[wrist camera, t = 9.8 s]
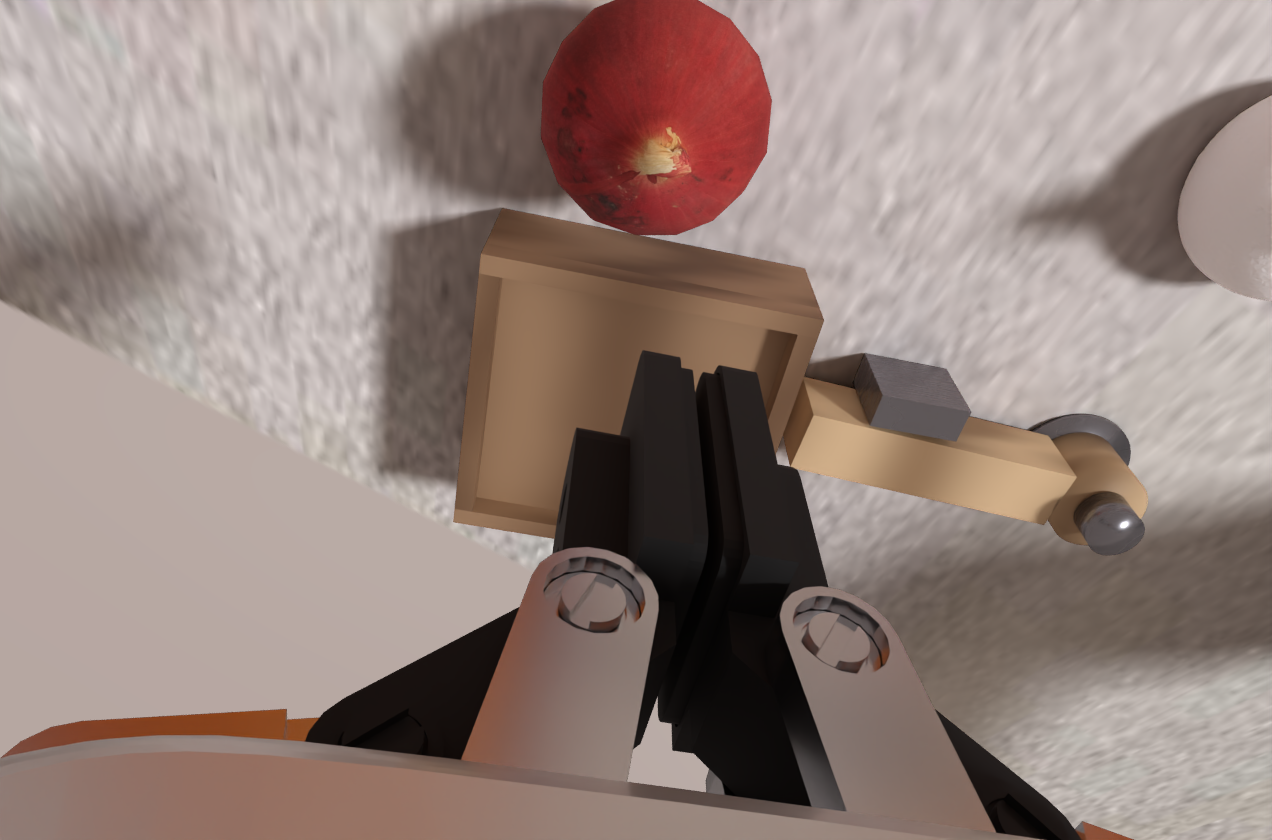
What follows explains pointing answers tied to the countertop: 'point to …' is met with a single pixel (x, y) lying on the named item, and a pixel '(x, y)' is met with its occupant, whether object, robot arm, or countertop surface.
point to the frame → (940, 411)
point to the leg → (958, 461)
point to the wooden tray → (605, 348)
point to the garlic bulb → (1233, 205)
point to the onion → (655, 115)
